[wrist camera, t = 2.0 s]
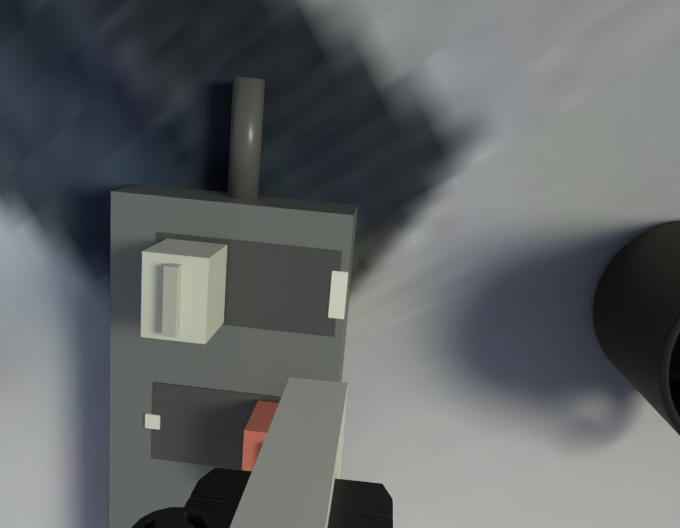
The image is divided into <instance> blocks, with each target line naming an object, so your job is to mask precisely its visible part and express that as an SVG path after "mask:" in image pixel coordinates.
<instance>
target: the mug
mask: <svg viewBox="0 0 680 528" xmlns="http://www.w3.org/2000/svg"><path fill="white" fill-rule="evenodd" d="M593 322H594V328H595V333H596V336H597V339H598V341H599V344H600V346H601V348H602V349H603V351H604V353H605V354H606V356H607V358H608V359H609V360H610V361H611V362H612V363H613V364H614V366H615V367H616V368H617V369H618V370H619V371H620V372H621V373H622V374H623V375H624V376H625V377H626V378H627V379H628V381H629V382H630V383H631V384H632V385H633V386H634V387H635V388H636V389H637V390H638V391H639V392H640V393H641V394H642V396H643V397H644V398H645V399H646V400H647V401H648V402H649V403H650V404H651V405H652V406H653V407H654V408H655V410H656V411H657V412H658V413H659V414H660V415H661V416H662V417H663V418H664V419H665V420H666V421H667V422H668V423H669V425H670V426H671V427H672V428H673V429H674V430H675V431H676V432H677V433H678V434H679V435H680V221H679V222H673V223H669V224H665V225H662V226H659V227H656V228H654V229H651V230H649V231H647V232H645V233H644V234H642V235H640V236H638V237H637V238H635V239H634V240H632V241H631V242H630V243H629V244H627V245H626V246H625V247H624V248H623V249H622V250H621V251H620V252H619V253H618V254H617V255H616V256H615V257H614V258H613V259H612V261H611V262H610V264H609V265H608V266H607V268H606V270H605V271H604V273H603V275H602V277H601V279H600V281H599V284H598V287H597V290H596V293H595V298H594V305H593Z"/></svg>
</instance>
